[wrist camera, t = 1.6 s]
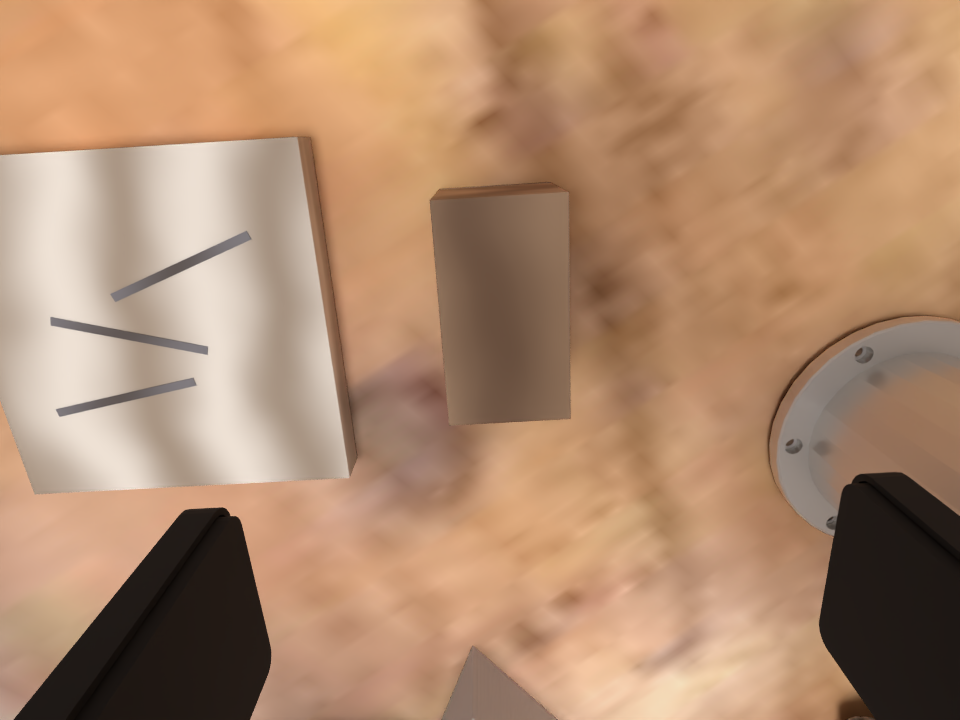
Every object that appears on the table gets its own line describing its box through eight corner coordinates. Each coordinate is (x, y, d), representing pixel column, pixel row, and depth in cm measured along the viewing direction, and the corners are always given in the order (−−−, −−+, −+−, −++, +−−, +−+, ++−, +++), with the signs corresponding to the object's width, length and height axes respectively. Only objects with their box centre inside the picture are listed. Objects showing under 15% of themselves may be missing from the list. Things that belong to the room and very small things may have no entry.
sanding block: (549, 181, 27) (569, 191, 21) (552, 367, 30) (570, 418, 24) (439, 188, 27) (429, 200, 21) (454, 372, 30) (449, 425, 24)
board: (310, 137, 26) (296, 136, 24) (357, 457, 31) (349, 478, 29) (-48, 159, 26) (-90, 160, 24) (61, 473, 32) (33, 494, 30)
